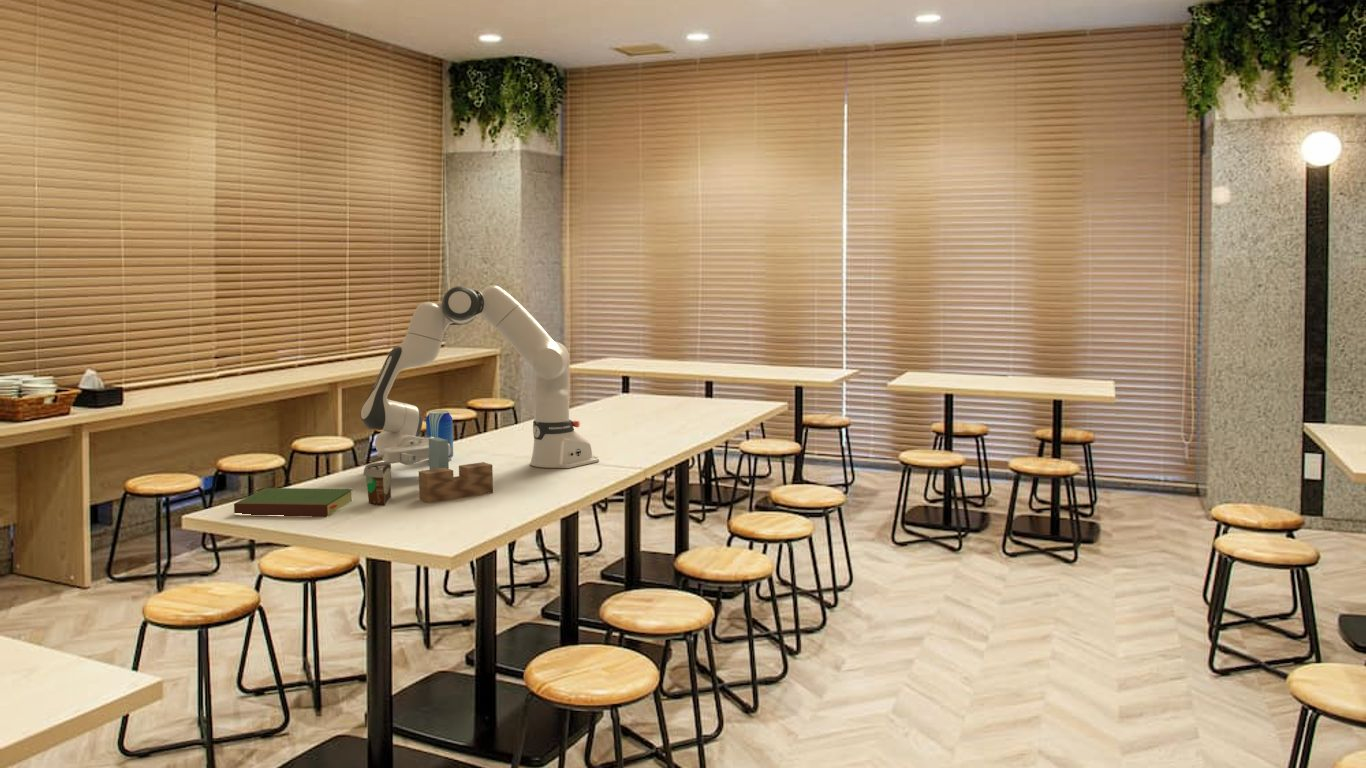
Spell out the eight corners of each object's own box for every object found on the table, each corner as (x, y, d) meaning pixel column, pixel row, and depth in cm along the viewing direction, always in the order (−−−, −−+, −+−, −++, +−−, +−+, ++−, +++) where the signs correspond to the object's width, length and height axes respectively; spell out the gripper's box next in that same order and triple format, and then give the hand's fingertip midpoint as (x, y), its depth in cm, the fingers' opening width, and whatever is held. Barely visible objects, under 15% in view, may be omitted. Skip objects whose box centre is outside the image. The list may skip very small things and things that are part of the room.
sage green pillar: (439, 484, 315) (438, 437, 313) (449, 488, 310) (447, 440, 308) (430, 486, 313) (428, 438, 311) (439, 489, 308) (438, 441, 307)
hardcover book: (234, 517, 277) (233, 503, 277) (266, 501, 296) (265, 488, 295) (330, 519, 276) (329, 504, 276) (355, 502, 295) (355, 489, 294)
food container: (369, 497, 299) (368, 461, 298) (392, 496, 299) (390, 461, 298) (359, 507, 286) (358, 470, 285) (383, 506, 287) (382, 469, 286)
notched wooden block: (484, 489, 308) (483, 462, 307) (492, 492, 304) (492, 464, 303) (419, 499, 295) (418, 471, 294) (428, 503, 291) (427, 473, 290)
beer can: (447, 462, 348) (445, 413, 346) (422, 461, 350) (421, 413, 348) (457, 458, 356) (456, 410, 355) (433, 457, 358) (432, 409, 356)
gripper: (374, 443, 319) (394, 449, 309) (437, 435, 332) (458, 441, 322) (375, 464, 320) (395, 471, 309) (437, 456, 333) (459, 462, 322)
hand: (428, 456), depth 316 cm, fingers open, 8 cm apart
